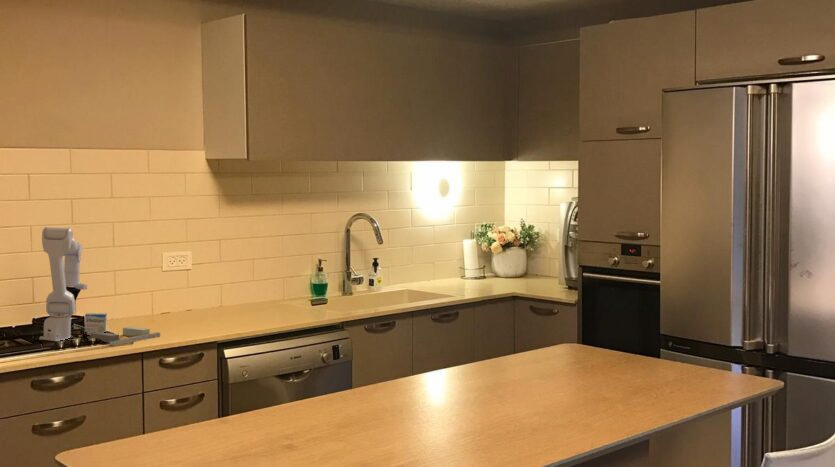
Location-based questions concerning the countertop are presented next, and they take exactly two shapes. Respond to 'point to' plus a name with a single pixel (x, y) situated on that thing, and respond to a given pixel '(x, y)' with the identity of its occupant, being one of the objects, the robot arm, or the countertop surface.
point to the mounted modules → (111, 337)
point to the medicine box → (95, 322)
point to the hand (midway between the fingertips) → (71, 306)
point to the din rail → (134, 339)
